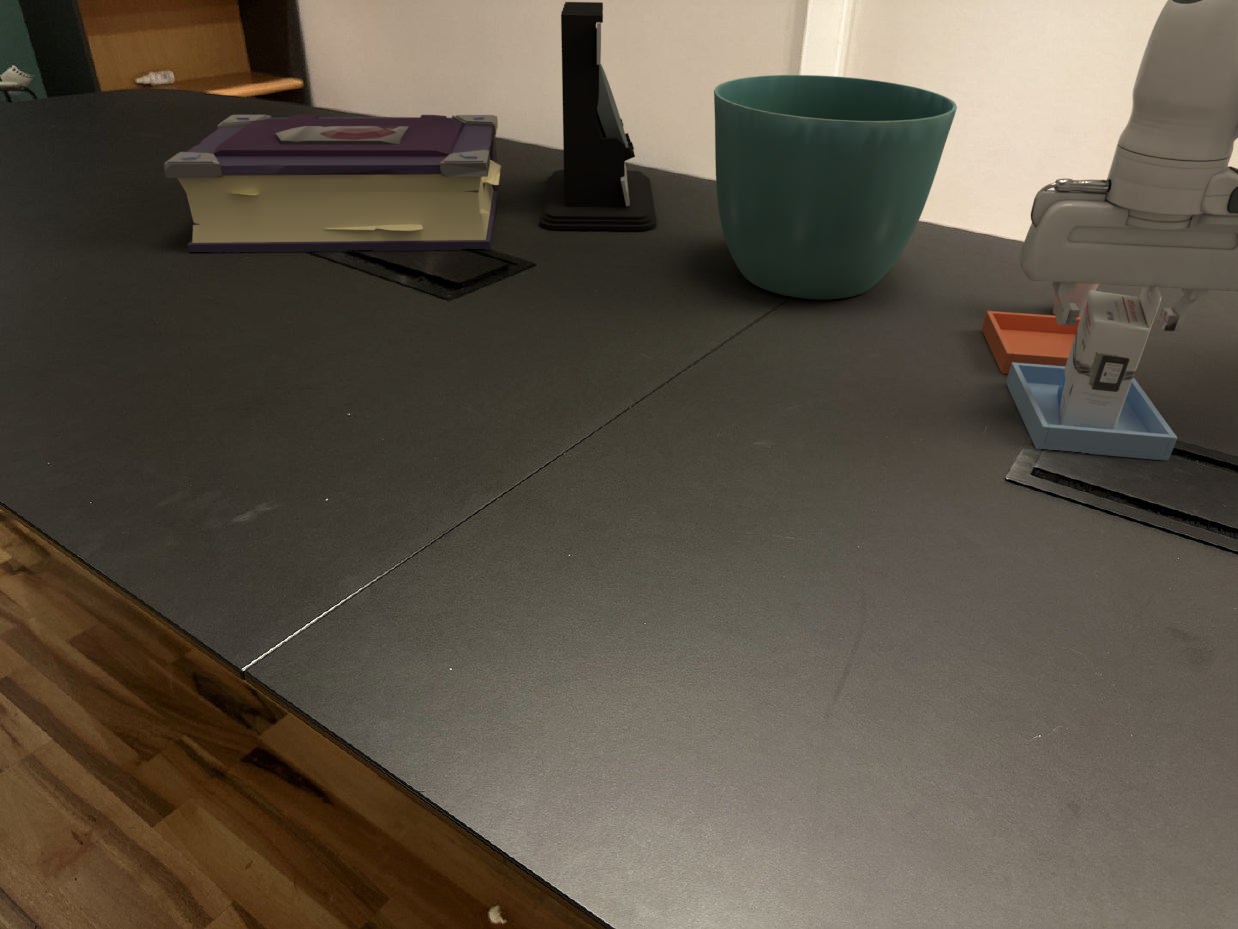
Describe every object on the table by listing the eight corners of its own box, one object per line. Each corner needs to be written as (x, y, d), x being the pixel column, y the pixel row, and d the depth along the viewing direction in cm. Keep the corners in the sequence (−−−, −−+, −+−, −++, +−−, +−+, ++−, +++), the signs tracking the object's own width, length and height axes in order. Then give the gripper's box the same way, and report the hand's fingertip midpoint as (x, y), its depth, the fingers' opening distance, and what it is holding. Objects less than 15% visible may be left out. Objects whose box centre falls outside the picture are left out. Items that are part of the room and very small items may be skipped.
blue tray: (1121, 392, 98) (1129, 371, 97) (1168, 461, 86) (1177, 437, 85) (1005, 383, 99) (1011, 362, 98) (1035, 449, 88) (1043, 426, 86)
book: (248, 189, 158) (230, 105, 151) (505, 188, 161) (500, 105, 154) (185, 254, 130) (159, 154, 123) (497, 250, 133) (491, 153, 126)
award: (657, 231, 142) (665, 21, 126) (538, 230, 141) (531, 19, 125) (649, 179, 168) (654, -2, 151) (548, 178, 167) (543, -3, 151)
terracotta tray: (1084, 337, 110) (1091, 318, 109) (1115, 383, 100) (1122, 361, 99) (981, 330, 112) (986, 310, 110) (1001, 374, 101) (1007, 353, 100)
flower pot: (908, 249, 136) (941, 79, 123) (930, 329, 112) (975, 126, 99) (711, 235, 141) (723, 69, 128) (690, 309, 116) (703, 112, 103)
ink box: (1055, 391, 97) (1096, 259, 89) (1105, 400, 95) (1152, 266, 87) (1059, 429, 90) (1104, 289, 82) (1113, 438, 88) (1164, 297, 80)
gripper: (1048, 187, 79) (1011, 332, 86) (1302, 197, 76) (1241, 346, 83) (1031, 168, 84) (998, 307, 91) (1268, 177, 81) (1214, 319, 89)
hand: (1116, 326), depth 87 cm, fingers open, 8 cm apart
